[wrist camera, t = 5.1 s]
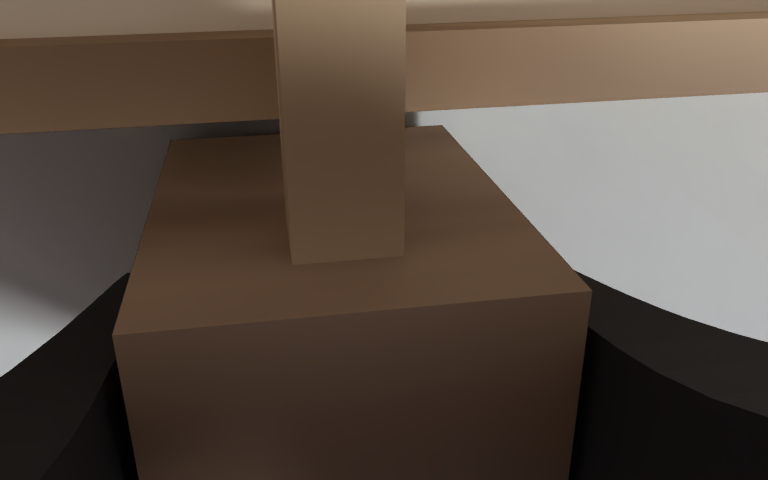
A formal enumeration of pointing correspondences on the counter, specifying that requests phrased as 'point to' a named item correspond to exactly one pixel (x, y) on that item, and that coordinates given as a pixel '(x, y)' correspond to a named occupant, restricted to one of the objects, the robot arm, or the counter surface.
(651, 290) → the counter surface
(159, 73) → the board
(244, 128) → the counter surface
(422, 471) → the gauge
